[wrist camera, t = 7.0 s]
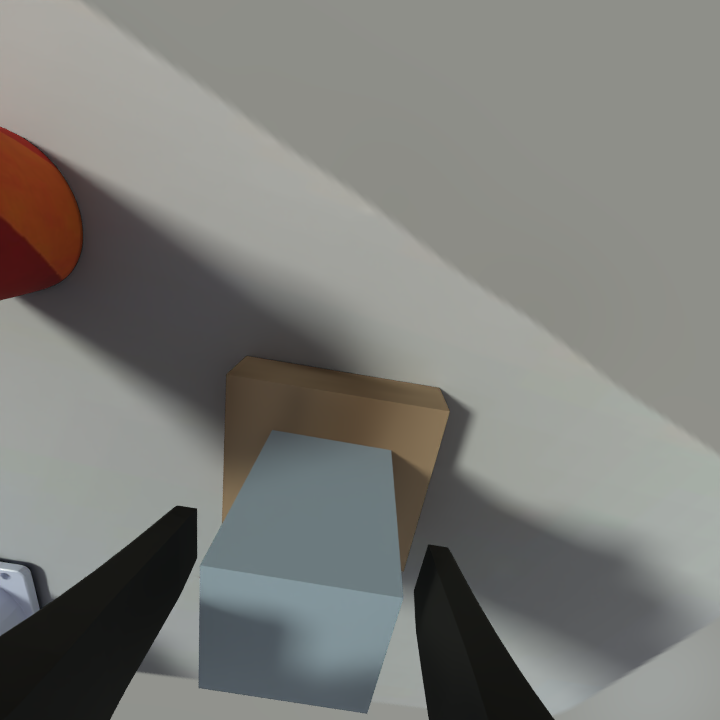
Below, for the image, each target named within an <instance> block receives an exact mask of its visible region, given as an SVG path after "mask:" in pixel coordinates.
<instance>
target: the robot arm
mask: <svg viewBox="0 0 720 720" xmlns="http://www.w3.org/2000/svg"><path fill="white" fill-rule="evenodd" d="M196 559H197V509H196V508H190V507H183V506H176V507H174V508H173V509H172V510H170V511H169V512H168V513H167V514H165V515H164V516H163V517H162V518H161V519H159V520H158V521H157V522H156V523H155V524H153V525H152V526H151V527H150V528H148V529H147V530H146V531H145V532H143V533H142V534H141V535H140V536H139V537H137V538H136V539H135V540H134V541H132V542H131V543H130V544H129V545H127V546H126V547H125V548H123V549H122V550H121V551H120V552H118V553H117V554H116V555H114V556H113V557H112V558H111V559H109V560H108V561H107V562H105V563H104V564H103V565H102V566H100V567H99V568H98V569H96V570H95V571H94V572H92V573H91V574H89V575H88V576H87V577H85V578H84V579H83V580H81V581H80V582H78V583H77V584H76V585H74V586H73V587H72V588H70V589H69V590H67V591H66V592H65V593H63V594H62V595H61V596H59V597H58V598H56V599H55V600H53V601H52V602H50V603H49V604H48V605H46V606H45V607H43V608H42V609H40V608H39V604H38V600H37V595H36V591H35V587H34V583H33V579H32V575H31V571H30V570H29V569H28V568H27V567H26V566H23V565H19V564H12V563H6V562H0V720H110V719H111V717H112V714H113V713H114V711H115V709H116V707H117V705H118V703H119V701H120V700H121V698H122V696H123V694H124V692H125V690H126V688H127V687H128V685H129V683H130V681H131V679H132V678H133V676H134V675H135V673H136V671H137V669H138V668H139V666H140V664H141V663H142V661H143V659H144V657H145V656H146V654H147V652H148V650H149V649H150V647H151V645H152V643H153V642H154V640H155V638H156V637H157V635H158V633H159V631H160V630H161V628H162V626H163V624H164V623H165V621H166V619H167V617H168V616H169V614H170V612H171V610H172V609H173V607H174V605H175V603H176V602H177V600H178V598H179V596H180V594H181V592H182V590H183V588H184V586H185V584H186V582H187V579H188V577H189V575H190V573H191V570H192V568H193V566H194V564H195V561H196ZM414 603H415V623H416V634H417V642H418V649H419V656H420V663H421V670H422V676H423V683H424V690H425V697H426V704H427V710H428V717H429V720H554V718H553V717H552V716H551V714H550V713H549V711H548V710H547V709H546V707H545V706H544V704H543V703H542V702H541V700H540V699H539V697H538V696H537V695H536V693H535V692H534V690H533V689H532V687H531V686H530V685H529V683H528V682H527V680H526V679H525V677H524V676H523V674H522V673H521V671H520V670H519V668H518V667H517V665H516V664H515V662H514V661H513V659H512V657H511V656H510V654H509V653H508V651H507V650H506V648H505V647H504V645H503V643H502V642H501V640H500V639H499V637H498V635H497V634H496V632H495V630H494V629H493V627H492V625H491V624H490V622H489V620H488V619H487V617H486V615H485V614H484V612H483V610H482V608H481V607H480V605H479V603H478V602H477V600H476V598H475V596H474V594H473V593H472V591H471V589H470V587H469V585H468V584H467V582H466V580H465V578H464V576H463V574H462V573H461V571H460V569H459V567H458V565H457V563H456V561H455V559H454V557H453V556H452V554H451V552H450V550H449V549H448V548H447V547H441V546H434V545H428V547H427V550H426V554H425V557H424V560H423V563H422V567H421V570H420V573H419V576H418V579H417V583H416V586H415V589H414Z"/></svg>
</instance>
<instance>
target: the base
mask: <svg viewBox="0 0 720 720" xmlns="http://www.w3.org/2000/svg"><path fill="white" fill-rule="evenodd" d="M449 413H450V411H449V408H448V406H447V404H446V402H445V399H444V397H443V395H442V393H441V390H440V388H437V387H431V386H425V385H419V384H413V383H406V382H400V381H394V380H388V379H382V378H376V377H370V376H364V375H358V374H352V373H346V372H340V371H334V370H328V369H322V368H316V367H310V366H304V365H298V364H292V363H286V362H280V361H274V360H268V359H262V358H256V357H250V356H246V357H245V358H244V359H243V360H242V361H240V362H239V363H238V364H237V365H236V366H235V367H234V368H233V369H232V370H231V371H230V372H228V373H227V374H226V402H225V437H224V473H223V508H222V523H223V521H224V520H225V518H226V516H227V514H228V512H229V510H230V508H231V506H232V505H233V503H234V501H235V499H236V497H237V495H238V493H239V491H240V490H241V488H242V486H243V484H244V482H245V480H246V478H247V476H248V475H249V473H250V471H251V469H252V467H253V465H254V463H255V461H256V459H257V458H258V456H259V454H260V452H261V450H262V448H263V446H264V444H265V443H266V441H267V439H268V437H269V435H270V433H271V431H272V430H275V431H281V432H287V433H293V434H299V435H305V436H310V437H316V438H322V439H328V440H334V441H340V442H346V443H351V444H357V445H363V446H369V447H375V448H381V449H387V450H391V455H392V467H393V479H394V491H395V503H396V515H397V527H398V539H399V551H400V563H401V571H403V572H404V568H405V565H406V561H407V558H408V554H409V551H410V547H411V544H412V541H413V537H414V534H415V530H416V527H417V523H418V520H419V516H420V513H421V509H422V506H423V502H424V499H425V496H426V492H427V489H428V485H429V482H430V478H431V475H432V471H433V468H434V464H435V461H436V458H437V454H438V451H439V447H440V444H441V440H442V437H443V433H444V430H445V426H446V423H447V420H448V416H449Z"/></svg>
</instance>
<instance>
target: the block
mask: <svg viewBox="0 0 720 720" xmlns="http://www.w3.org/2000/svg"><path fill="white" fill-rule="evenodd" d="M402 601H403V588H402V576H401V563H400V551H399V539H398V527H397V515H396V503H395V491H394V479H393V467H392V455H391V450H387V449H381V448H375V447H369V446H363V445H357V444H351V443H346V442H340V441H334V440H328V439H322V438H316V437H310V436H305V435H299V434H293V433H287V432H281V431H275V430H272V431H271V433H270V435H269V437H268V439H267V441H266V443H265V444H264V446H263V448H262V450H261V452H260V454H259V456H258V458H257V459H256V461H255V463H254V465H253V467H252V469H251V471H250V473H249V475H248V476H247V478H246V480H245V482H244V484H243V486H242V488H241V490H240V491H239V493H238V495H237V497H236V499H235V501H234V503H233V505H232V506H231V508H230V510H229V512H228V514H227V516H226V518H225V520H224V521H223V523H222V525H221V527H220V529H219V531H218V533H217V535H216V536H215V538H214V540H213V542H212V544H211V546H210V548H209V550H208V551H207V553H206V555H205V557H204V559H203V561H202V563H201V565H200V615H199V688H202V689H209V690H216V691H222V692H229V693H235V694H242V695H248V696H255V697H261V698H268V699H275V700H281V701H288V702H294V703H301V704H308V705H314V706H321V707H327V708H334V709H340V710H347V711H353V712H360V713H366V714H367V712H368V709H369V706H370V703H371V699H372V696H373V693H374V690H375V687H376V683H377V680H378V677H379V674H380V671H381V668H382V664H383V661H384V658H385V655H386V652H387V649H388V645H389V642H390V639H391V636H392V633H393V629H394V626H395V623H396V620H397V617H398V614H399V610H400V607H401V604H402Z"/></svg>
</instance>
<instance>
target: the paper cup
mask: <svg viewBox="0 0 720 720" xmlns="http://www.w3.org/2000/svg"><path fill="white" fill-rule="evenodd" d="M82 243H83V228H82V221H81V216H80V212H79V208H78V205H77V202H76V200H75V197H74V195H73V193H72V191H71V189H70V187H69V185H68V183H67V182H66V180H65V179H64V177H63V176H62V174H61V173H60V171H59V170H58V169H57V168H56V166H55V165H54V164H53V163H52V162H51V161H50V159H49V158H48V157H47V156H46V155H45V154H43V153H42V152H41V151H40V150H39V149H38V148H37V147H35V146H34V145H33V144H31V143H30V142H28V141H27V140H25V139H24V138H22V137H20V136H19V135H17V134H15V133H13V132H11V131H9V130H7V129H5V128H2V127H0V300H4V299H8V298H12V297H16V296H20V295H24V294H28V293H32V292H35V291H39V290H42V289H46V288H48V287H51V286H53V285H55V284H57V283H59V282H61V281H62V280H64V279H65V278H66V277H67V276H68V275H69V274H70V273H71V272H72V270H73V269H74V267H75V266H76V264H77V262H78V260H79V257H80V254H81V249H82Z"/></svg>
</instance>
